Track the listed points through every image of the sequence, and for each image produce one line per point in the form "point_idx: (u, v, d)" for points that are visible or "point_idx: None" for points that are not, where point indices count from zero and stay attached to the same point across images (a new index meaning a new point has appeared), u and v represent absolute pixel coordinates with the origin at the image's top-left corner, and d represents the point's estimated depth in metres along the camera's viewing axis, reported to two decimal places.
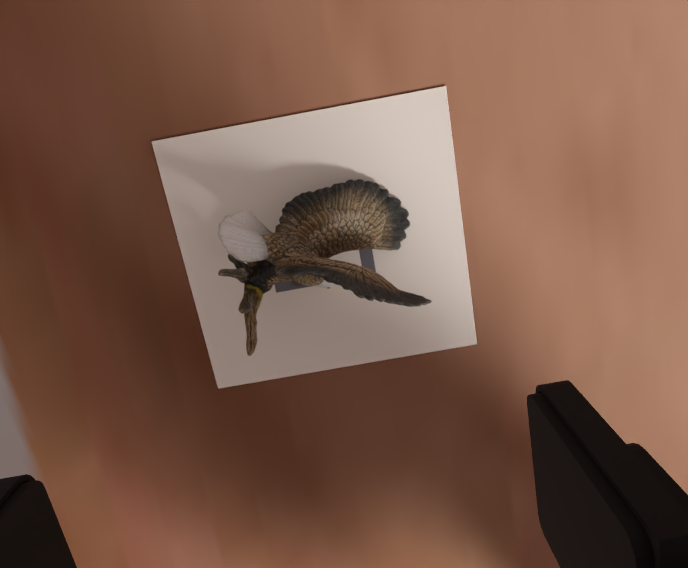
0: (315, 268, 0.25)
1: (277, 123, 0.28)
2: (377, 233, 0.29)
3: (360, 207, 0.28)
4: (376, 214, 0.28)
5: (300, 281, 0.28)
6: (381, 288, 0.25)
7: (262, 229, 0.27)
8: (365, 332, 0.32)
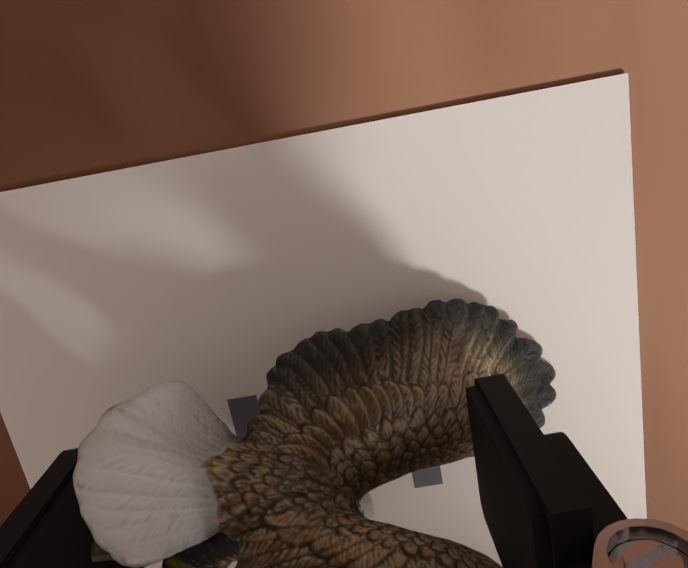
0: None
1: (217, 163, 0.12)
2: None
3: (460, 375, 0.11)
4: None
5: None
6: None
7: (210, 435, 0.10)
8: None
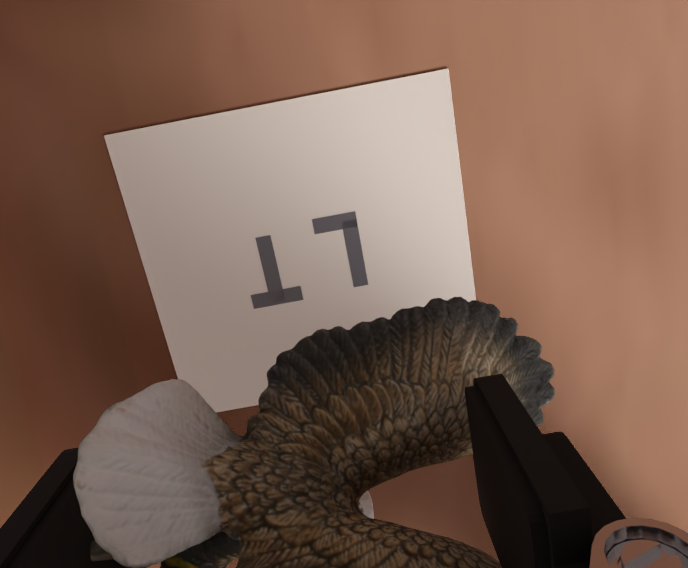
0: None
1: (251, 113, 0.24)
2: None
3: (461, 374, 0.11)
4: None
5: None
6: None
7: (211, 434, 0.10)
8: None
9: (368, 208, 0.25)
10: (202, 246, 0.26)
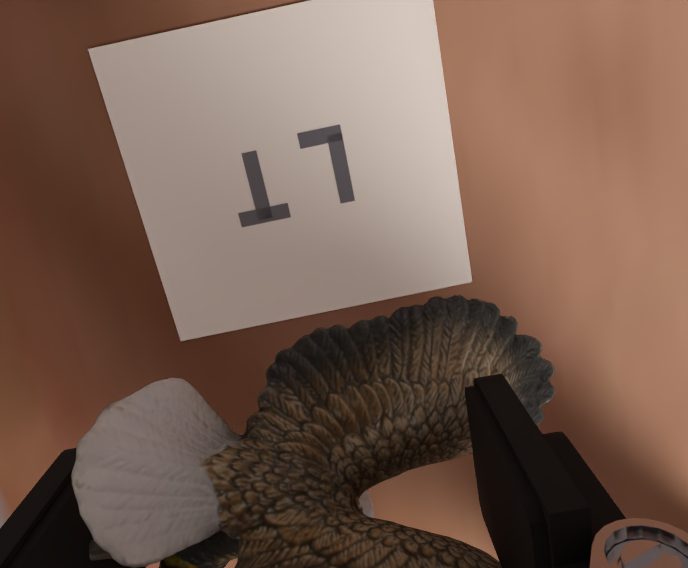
0: None
1: (234, 24, 0.24)
2: None
3: (461, 373, 0.11)
4: None
5: None
6: None
7: (210, 432, 0.10)
8: (346, 271, 0.28)
9: (353, 121, 0.26)
10: (188, 163, 0.26)
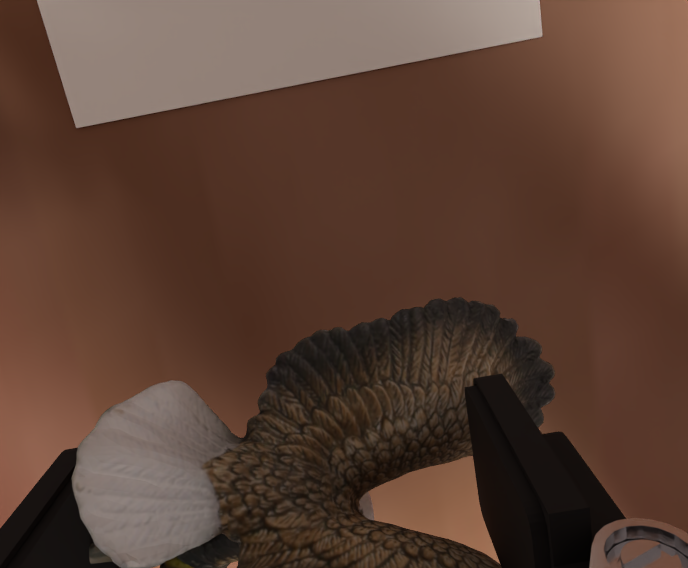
0: None
1: None
2: None
3: (461, 375, 0.11)
4: None
5: None
6: None
7: (210, 436, 0.10)
8: (338, 11, 0.17)
9: None
10: None
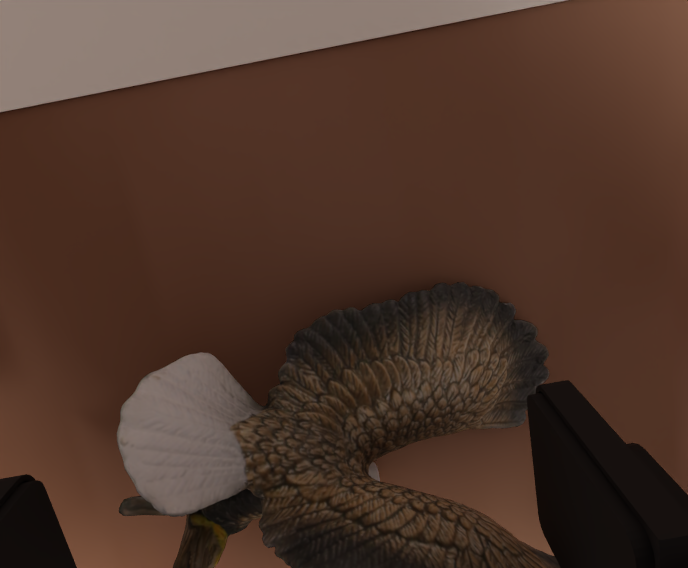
0: (368, 554, 0.09)
1: None
2: (490, 404, 0.13)
3: (463, 352, 0.12)
4: (492, 365, 0.13)
5: None
6: None
7: (236, 402, 0.11)
8: None
9: None
10: None
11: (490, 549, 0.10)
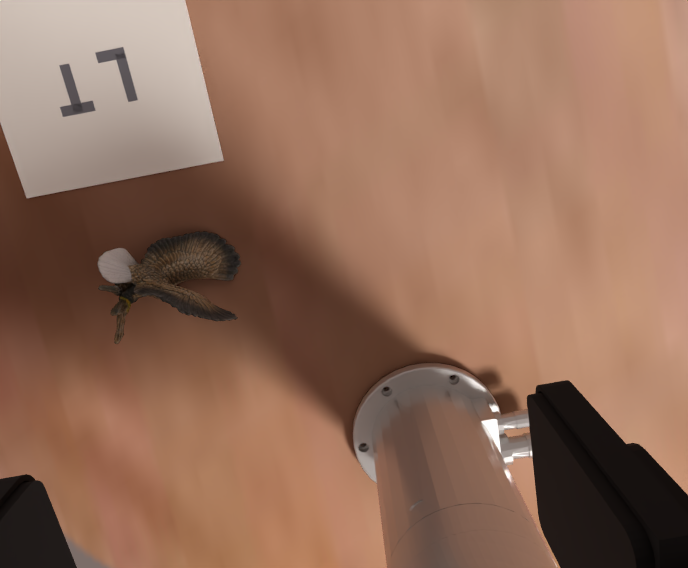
0: (157, 291, 0.39)
1: None
2: (214, 269, 0.42)
3: (201, 251, 0.42)
4: (213, 256, 0.42)
5: (156, 297, 0.41)
6: (199, 307, 0.39)
7: (131, 261, 0.40)
8: (136, 150, 0.41)
9: (132, 45, 0.39)
10: (25, 71, 0.39)
11: (192, 295, 0.39)
